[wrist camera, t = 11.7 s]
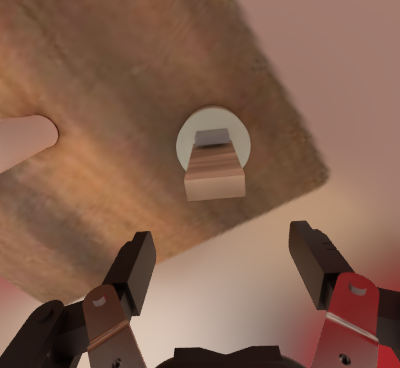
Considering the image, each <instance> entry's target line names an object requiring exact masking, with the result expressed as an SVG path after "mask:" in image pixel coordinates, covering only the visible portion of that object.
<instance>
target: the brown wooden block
mask: <svg viewBox="0 0 400 368" xmlns="http://www.w3.org/2000/svg"><path fill="white" fill-rule="evenodd" d="M184 183H185V189H186V195H187V201H197V200H208V199H220V198H231V197H243V196H245V174H244V172H243V169H242V167H241V164H240V162H239V159H238V156H237V154H236V151H235V149H234V146H233V144H232V141H231V140H230V142H229V143H219V144H209V145H200V146H196V145H195V144H193V148H192V151H191V155H190V159H189V163H188V167H187V171H186V175H185V179H184Z"/></svg>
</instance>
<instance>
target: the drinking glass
mask: <svg viewBox="0 0 400 368" xmlns="http://www.w3.org/2000/svg"><path fill="white" fill-rule="evenodd" d="M57 140H58V131H57V129H56V127H55V125H54V124H53V123H52V122H51V121H50V120H49V119H48V118H46V117H44V116H40V115H31V116H25V117H12V118H0V174H1V173H3V172H5V171H7V170H8V169H10V168H12V167H14V166H16V165H17V164H19V163H21V162H23V161H24V160H26V159H28V158H30V157H32V156H33V155H35V154H37V153H39V152H41V151H43V150H44V149H47V148H49V147H51V146H53V145H54V144H55V143H56V142H57Z"/></svg>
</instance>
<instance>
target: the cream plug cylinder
mask: <svg viewBox="0 0 400 368" xmlns="http://www.w3.org/2000/svg"><path fill="white" fill-rule="evenodd" d="M230 140H231V141H232V144H233V146H234V149H235V151H236V154H237V156H238V159H239V162H240V164H241V167H242V168H243V167H244V166H245V164H246V162H247V160H248V158H249V155H250V147H251V144H250V137H249V134H248V131H247V129H246V128H245V126H244V125H243V123H242V122H241V121H240V120H239V118H238V117H237V116H236V115H235V114H234V113H233V112H232V111H231V110H229V109H227V108H225V107H223V106H219V105H207V106H203V107H201V108H199V109H197V110H195V111H194V112H193V113H192V114H191V115H190V116H189V117H188V119H187V120H186V122H185V123H184V125H183V127H182V128H181V130H180V132H179V135H178V138H177V144H176V149H177V156H178V159H179V161H180V163H181V165H182V167H183V168H184V169H185V170H186V171H187V167H188V163H189V159H190V155H191V151H192V148H193V144H195V145H196V146H200V145H209V144H219V143H229V142H230Z"/></svg>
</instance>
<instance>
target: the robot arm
mask: <svg viewBox="0 0 400 368" xmlns="http://www.w3.org/2000/svg"><path fill="white" fill-rule="evenodd" d="M289 251H290V254H291V256H292V258H293V260H294V262H295V264H296V267H297V269H298V271H299V273H300V275H301V277H302V279H303V281H304V284H305V286H306V288H307V290H308V292H309V294H310V296H311V298H312V300H313V302H314V305H315V307H316V309H317V310H326V311H327V314H326V318H325V320H324V324H323V327H322V331H321V334H320V338H319V341H318V344H317V348H316V351H315V355H314V358H313V362H312V365H311V368H377V358H378V344H381V345H385V346H388V347H391V348H392V350H393V351H394V353H395V355H396V356H397V358H398V359H399V361H400V292H397V291H392V290H387V289H382V288H379V287H377V286H376V285H375V284H374V283H373V282H372V281H371V280H369V279H368V278H366V277H364V276H362V275H360V274H357V273H355V272H354V271H353V269H352V268H351V267H350V266H349V264H348V263H347V261H346V260H345V259H344V257H343V256H342V255H341V254H340V252H339V251H338V250H337V248H336V247H335V246H334V245H333V244H332V242H331V241H330V239H329V238H328V237H327V235H325V234H324V233H322V232H321V231H319V230H318V229H314V230H313V229H312V228H311V227H310V225H309V224H308V223H307V221H292V222H291V223H290V232H289ZM155 262H156V250H155V246H154V242H153V239H152V235H151V232H150V231H144V232H136V234H135V236H134V238H133V240H132V241H128V242H127V243H126V244H125V245H124V246H123V247H122V248H121V249H120V251H119V253H118V255H117V257H116V259H115V260H114V263H113V264H112V266H111V268H110V270H109V272H108V274H107V276H106V277H105V279H104V281H103V283H102V285H100V286H98V287H96V288H94V289H93V290H91V291H90V292H89V293H88V294H87V295H86V297H85V298H84V300H82V301H80V302H77V303H74V304H71V305H68V306H64V305H63V303H62V302H61V301H59V300H52V301H49V302H46V303H44V304H43V305H41V306H39V307H38V308H37V309H36V310H35V311H33V313H32V314H31V315H30V316H29V318H28V319H27V320H26V322H25V323H24V324H23V326H22V327H21V329H20V330H19V331H18V333H17V334H16V336H15V337H14V338H13V340H12V341H11V343H10V344H9V346H8V347H7V348H6V350H5V351H4V353H3V354H2V355H1V357H0V368H77V365H78V363H79V360H80V358H81V356H82V353H85V352H87V351H88V356H89V361H90V367H91V368H147V367H146V365H145V362H144V359H143V357H142V354H141V352H140V349H139V347H138V344H137V342H136V339H135V337H134V334H133V332H132V329H131V327H130V324H129V323H130V320H131V317H132V316H140V313H141V309H142V306H143V303H144V299H145V296H146V293H147V289H148V286H149V282H150V279H151V276H152V272H153V269H154V266H155ZM156 368H306V367H305V366H303V365H302V364H300V363H298V362H297V361H295V360H293V359H291V358H289V357H286V356H283V355H281V354H280V350H279V347H278V346H251V347H248V348H245V349H242V350H240V351H236V352H233V353H231V354H226V355H225V354H221V353H217V352H214V351H210V350H207V349H203V348H200V347H197V348H175V350H174V357H173V358H170V359H168V360H166V361H164V362H162V363H161V364H159V365H158V366H157V367H156Z"/></svg>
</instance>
